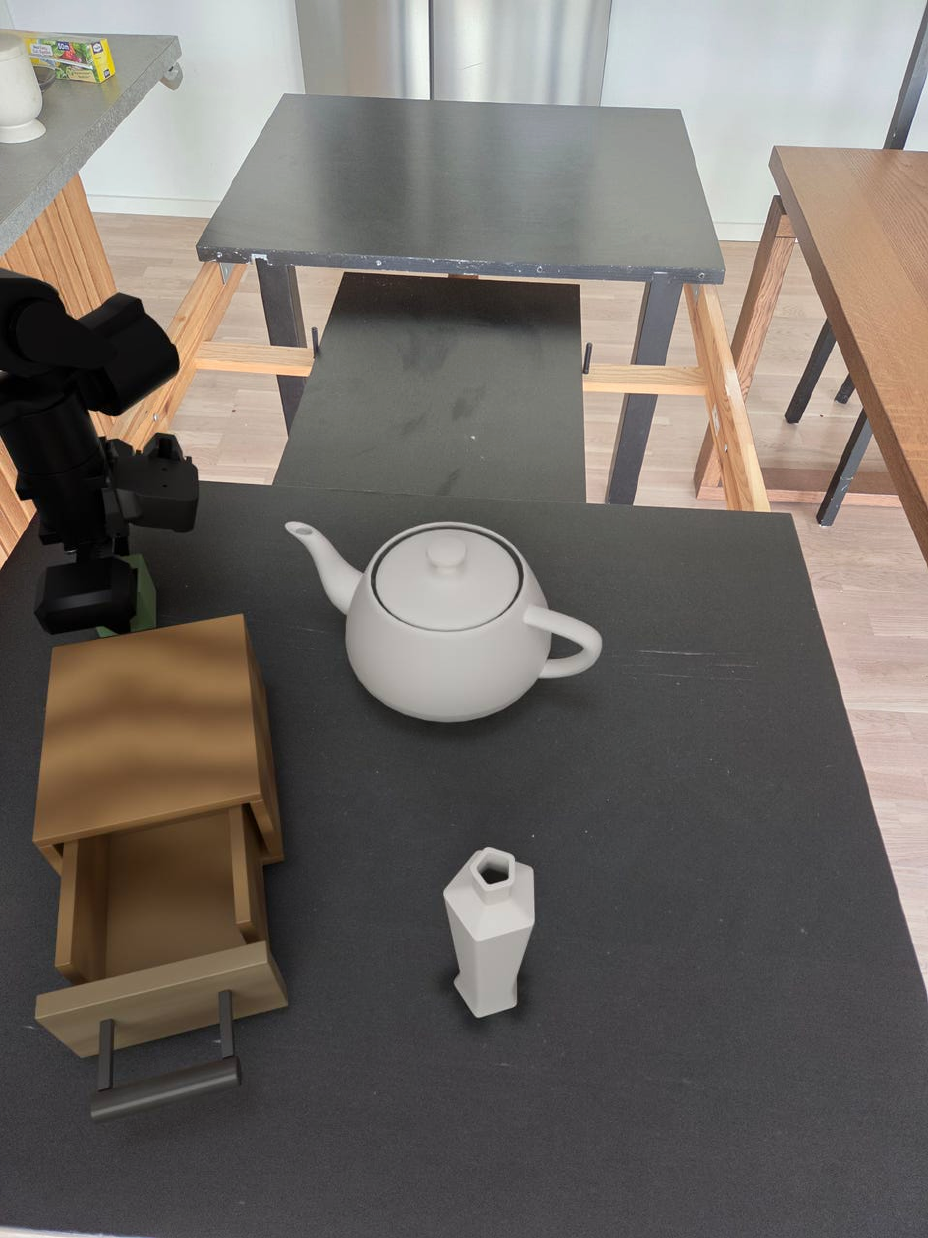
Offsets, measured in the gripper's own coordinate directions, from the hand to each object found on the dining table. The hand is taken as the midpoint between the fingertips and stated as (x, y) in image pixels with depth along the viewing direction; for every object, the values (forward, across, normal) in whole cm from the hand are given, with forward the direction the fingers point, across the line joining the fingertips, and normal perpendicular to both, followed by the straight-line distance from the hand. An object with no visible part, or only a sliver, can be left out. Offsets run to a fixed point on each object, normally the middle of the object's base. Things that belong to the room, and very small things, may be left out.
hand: (125, 605), depth 69 cm
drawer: (0, -30, -4) cm, 31 cm away
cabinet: (+1, -18, -4) cm, 18 cm away
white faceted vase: (+1, -36, -21) cm, 42 cm away
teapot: (+1, -11, -24) cm, 26 cm away
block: (+1, 0, 0) cm, 1 cm away
